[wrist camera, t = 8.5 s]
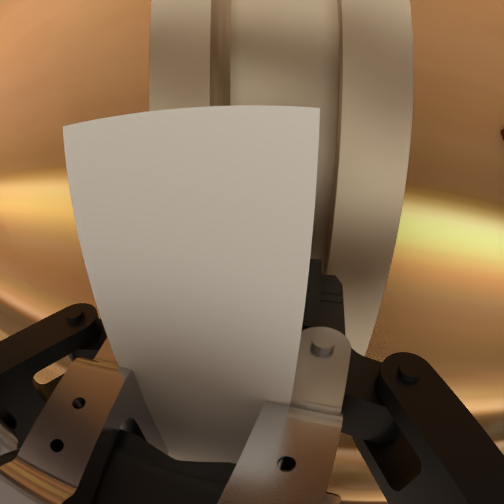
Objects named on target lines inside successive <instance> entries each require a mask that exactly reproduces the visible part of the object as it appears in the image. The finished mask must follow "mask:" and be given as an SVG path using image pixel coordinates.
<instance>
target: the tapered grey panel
mask: <svg viewBox="0 0 504 504" xmlns="http://www.w3.org/2000/svg"><path fill="white" fill-rule="evenodd" d="M319 123H320V108H314V107H297V106H266V105H238V106H208V107H191V108H178V109H167V110H158V111H149V112H141V113H133V114H126V115H120V116H113V117H107V118H102V119H96V120H91V121H86V122H81V123H76V124H72V125H67V126H63V137H64V148H65V158H66V166H67V174H68V181H69V188H70V194H71V200H72V206H73V212H74V217H75V222H76V227H77V232H78V236H79V241H80V245H81V250H82V254H83V258H84V262H85V266H86V270H87V273H88V277H89V281H90V284H91V288H92V291H93V294H94V298H95V301H96V304H97V307H98V311H99V314H100V317H101V320H102V323H103V326H104V328H105V331H106V334H107V337H108V340H109V342H110V345H111V348H112V350H113V353H114V356H115V358H116V361H117V363H118V366H120V367H124V368H128V369H132V370H133V372H134V375H135V378H136V380H137V383H138V385H139V388H140V390H141V393H142V395H143V397H144V400H145V402H146V404H147V407H148V409H149V411H150V414H151V416H152V418H153V420H154V422H155V425H156V427H157V429H158V431H159V433H160V435H161V437H162V439H163V441H164V443H165V445H166V447H167V449H168V456H170V457H172V458H174V459H176V460H181V461H197V462H231V463H235V464H237V462H238V460H239V458H240V456H241V454H242V452H243V450H244V447H245V445H246V443H247V441H248V439H249V437H250V434H251V432H252V430H253V428H254V425H255V423H256V421H257V419H258V416H259V414H260V412H261V410H262V407H263V405H264V403H265V402H266V400H267V401H272V402H277V403H283V404H288V405H290V402H291V396H292V390H293V384H294V378H295V372H296V366H297V359H298V352H299V345H300V338H301V331H302V324H303V316H304V308H305V300H306V292H307V283H308V274H309V264H310V255H311V244H312V234H313V222H314V210H315V197H316V182H317V166H318V147H319Z"/></svg>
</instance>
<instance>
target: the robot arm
mask: <svg viewBox="0 0 504 504" xmlns="http://www.w3.org/2000/svg"><path fill="white" fill-rule="evenodd" d="M321 263H322V260H321V259H311V258H310V264H309V274H308V283H307V292H306V300H305V308H304V316H303V324H302V331H301V338H300V345H299V352H298V359H297V366H296V372H295V378H294V384H293V390H292V396H291V402H290V405H288V404H283V403H277V402H272V401H267V400H266V402H265V403H264V405H263V407H262V410H261V412H260V414H259V416H258V419H257V421H256V423H255V425H254V428H253V430H252V432H251V434H250V437H249V439H248V441H247V443H246V445H245V447H244V450H243V452H242V454H241V456H240V458H239V460H238V462H237V464H235V463H231V462H197V461H181V460H176V459H174V458H172V457H170V456H168V449H167V447H166V445H165V443H164V441H163V439H162V437H161V435H160V433H159V431H158V429H157V427H156V425H155V422H154V420H153V418H152V416H151V414H150V411H149V409H148V407H147V404H146V402H145V400H144V397H143V395H142V393H141V390H140V388H139V385H138V383H137V380H136V378H135V375H134V372H133V370H132V369H128V368H124V367H120V366H118V363H117V361H116V358H115V356H114V353H113V350H112V348H111V345H110V342H109V340H108V337H107V334H106V331H105V328H104V326H103V323H102V320H101V319H99V317H98V314H97V311H96V309H95V307H94V306H92V305H90V304H86V303H79V304H74V305H71V306H68V307H66V308H64V309H62V310H60V311H58V312H56V313H54V314H52V315H50V316H48V317H46V318H44V319H43V320H41V321H39V322H37V323H35V324H33V325H31V326H29V327H27V328H25V329H23V330H21V331H19V332H17V333H15V334H13V335H12V336H10V337H8V338H6V339H4V340H2V341H0V504H340V503H341V499H340V497H338V496H336V495H333V494H328V493H326V491H327V487H328V484H329V480H330V476H331V472H332V468H333V464H334V460H335V456H336V451H337V447H338V442H339V438H340V433H341V432H343V433H346V434H348V435H351V436H352V437H353V440H354V442H355V444H356V446H357V448H358V449H359V451H360V453H361V455H362V457H363V458H364V460H365V462H366V464H367V466H368V467H369V469H370V471H371V473H372V475H373V476H374V478H375V480H376V482H377V484H378V485H379V487H380V489H381V491H382V493H383V494H384V496H385V498H386V500H387V502H388V503H389V504H504V455H503V454H502V453H501V451H500V450H499V449H498V447H497V446H496V445H495V443H494V442H493V441H492V439H491V438H490V437H489V435H488V434H487V433H486V432H485V430H484V429H483V428H482V427H481V425H480V424H479V423H478V422H477V420H476V419H475V418H474V417H473V415H472V414H471V413H470V412H469V410H468V409H467V408H466V407H465V405H464V404H463V403H462V402H461V401H460V399H459V398H458V397H457V396H456V395H455V393H454V392H453V391H452V390H451V389H450V387H449V386H448V385H447V384H446V383H445V382H444V380H443V379H442V378H441V377H440V376H439V375H438V373H437V372H436V371H435V370H434V369H433V368H432V366H431V365H430V364H429V363H428V362H427V361H426V360H424V359H423V358H422V357H420V356H418V355H415V354H412V353H407V352H399V353H394V354H392V355H390V356H388V357H387V358H386V359H385V360H384V361H383V363H382V362H379V361H376V360H373V359H370V358H367V357H364V356H362V355H360V354H359V353H357V352H356V351H355V350H353V349H352V348H351V344H350V342H349V340H348V339H347V337H346V335H345V316H344V304H343V303H344V300H343V286H342V283H341V282H340V281H339V279H338V278H337V277H336V275H326V274H321ZM67 355H69V357H70V359H71V361H72V363H71V365H70V366H69V368H68V369H67V371H66V372H65V373H64V374H63V375H61V376H59V377H57V378H56V379H54V380H52V381H50V382H49V383H47V384H39V383H37V382H36V381H35V380H34V378H33V377H34V375H35V374H36V373H37V372H38V371H40V370H42V369H43V368H45V367H47V366H49V365H51V364H52V363H54V362H56V361H58V360H60V359H61V358H63V357H65V356H67ZM19 448H20V449H19Z"/></svg>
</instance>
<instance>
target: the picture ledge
mask: <svg viewBox="0 0 504 504" xmlns="http://www.w3.org/2000/svg"><path fill="white" fill-rule="evenodd" d="M149 105H150V111H158V110H167V109H178V108H191V107H208V106H238V105H266V106H297V107H314V108H320V123H319V147H318V166H317V182H316V197H315V210H314V222H313V234H312V244H311V255H310V258H311V259H321V260H322V263H321V274H326V275H336V277H337V278H338V279H339V281H340V282H341V283H342V286H343V300H344V303H343V304H344V316H345V335H346V337H347V339H348V340H349V342H350V344H351V348H352V349H353V350H355V351H356V352H357V353H359V354H360V355H362V356H364V357H365V354H366V351H367V348H368V345H369V341H370V338H371V335H372V332H373V329H374V325H375V322H376V319H377V315H378V312H379V308H380V305H381V301H382V297H383V294H384V290H385V286H386V282H387V278H388V274H389V270H390V265H391V261H392V257H393V252H394V247H395V243H396V238H397V232H398V227H399V222H400V216H401V210H402V204H403V198H404V191H405V184H406V177H407V169H408V160H409V151H410V140H411V127H412V111H413V34H412V19H411V8H410V0H152V6H151V22H150V48H149Z"/></svg>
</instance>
